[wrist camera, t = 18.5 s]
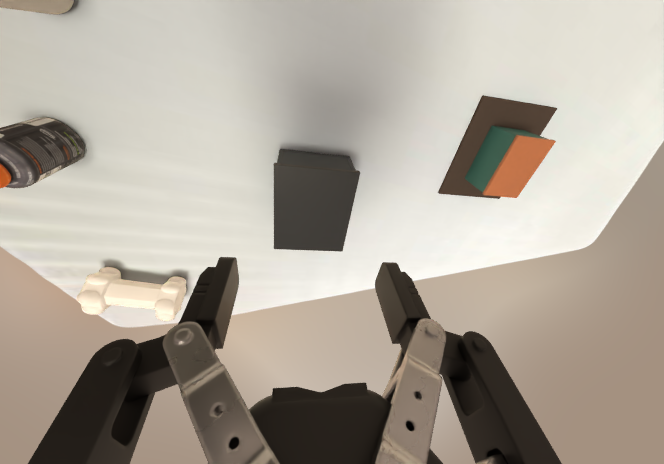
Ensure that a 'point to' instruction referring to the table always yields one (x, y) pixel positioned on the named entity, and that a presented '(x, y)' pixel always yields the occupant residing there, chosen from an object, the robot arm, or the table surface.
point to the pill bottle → (36, 151)
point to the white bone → (131, 294)
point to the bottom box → (312, 200)
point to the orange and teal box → (507, 161)
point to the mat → (483, 118)
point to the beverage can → (39, 5)
